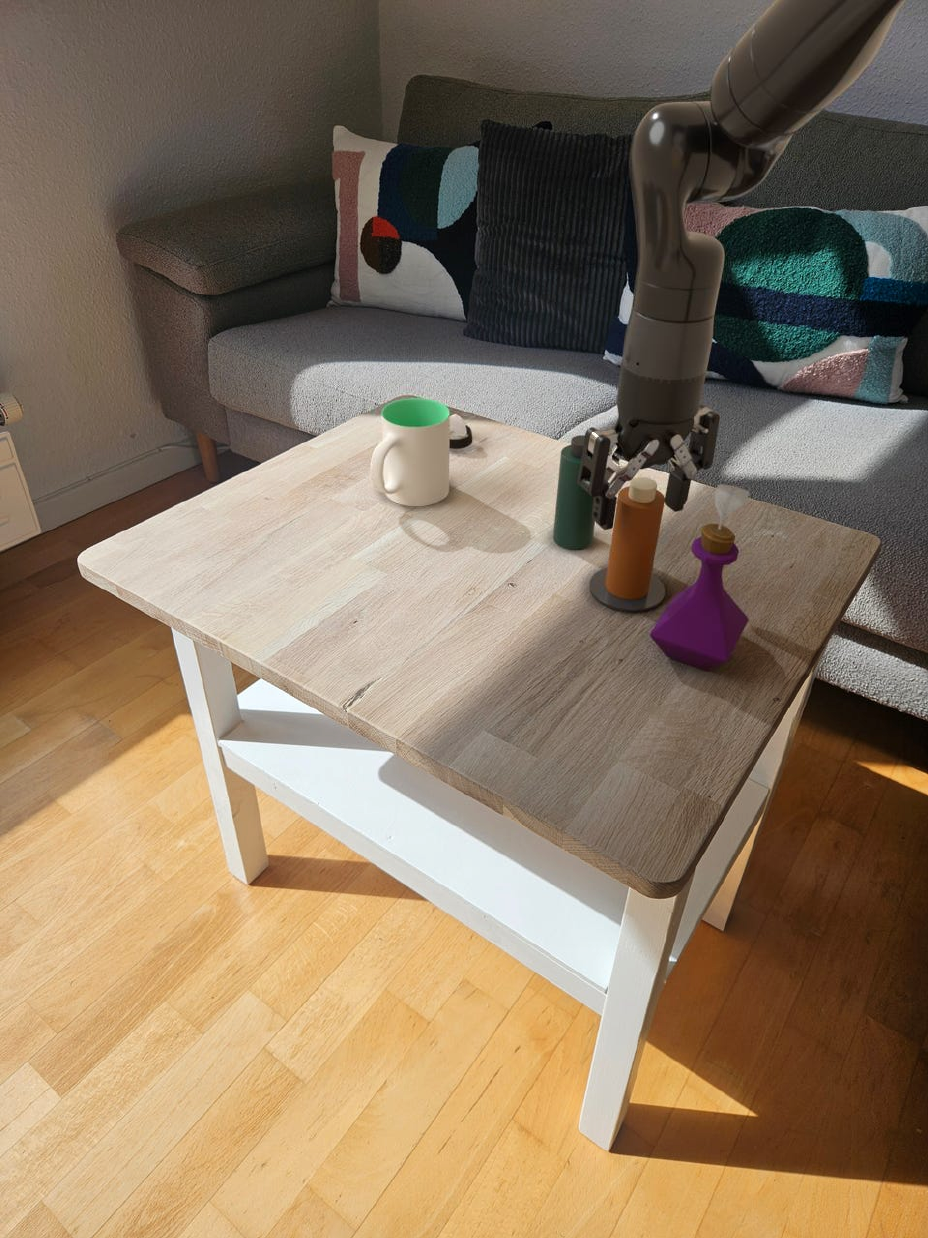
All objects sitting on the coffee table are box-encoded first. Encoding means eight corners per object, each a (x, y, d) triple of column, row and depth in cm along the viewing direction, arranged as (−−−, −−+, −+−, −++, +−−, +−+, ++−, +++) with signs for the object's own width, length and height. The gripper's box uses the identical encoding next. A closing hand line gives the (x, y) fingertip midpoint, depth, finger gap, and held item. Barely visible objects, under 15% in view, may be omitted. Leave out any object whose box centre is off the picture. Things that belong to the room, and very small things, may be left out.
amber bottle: (642, 573, 95) (660, 471, 87) (653, 598, 91) (672, 494, 83) (601, 574, 94) (615, 472, 87) (609, 600, 91) (625, 495, 83)
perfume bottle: (719, 688, 81) (764, 522, 70) (643, 661, 84) (675, 498, 73) (742, 644, 86) (787, 483, 75) (670, 620, 89) (702, 462, 78)
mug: (408, 527, 102) (405, 446, 96) (352, 508, 105) (347, 429, 99) (461, 484, 110) (462, 408, 104) (408, 468, 113) (406, 392, 107)
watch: (480, 445, 119) (481, 420, 117) (455, 455, 116) (456, 430, 114) (443, 426, 123) (443, 402, 121) (418, 436, 121) (417, 412, 119)
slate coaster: (654, 567, 96) (654, 564, 96) (673, 611, 90) (673, 608, 90) (583, 569, 96) (583, 566, 96) (597, 613, 90) (597, 610, 89)
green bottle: (588, 528, 103) (600, 430, 95) (596, 549, 99) (609, 450, 91) (549, 528, 102) (559, 431, 95) (556, 550, 99) (565, 450, 91)
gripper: (622, 388, 72) (599, 552, 82) (755, 362, 77) (719, 519, 87) (574, 357, 77) (558, 514, 87) (701, 334, 83) (673, 485, 93)
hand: (638, 516), depth 87 cm, fingers open, 8 cm apart
